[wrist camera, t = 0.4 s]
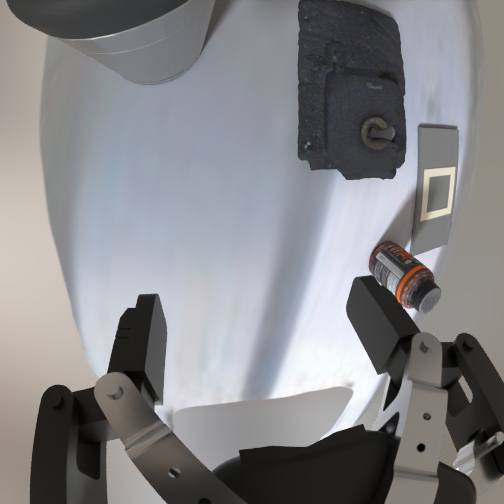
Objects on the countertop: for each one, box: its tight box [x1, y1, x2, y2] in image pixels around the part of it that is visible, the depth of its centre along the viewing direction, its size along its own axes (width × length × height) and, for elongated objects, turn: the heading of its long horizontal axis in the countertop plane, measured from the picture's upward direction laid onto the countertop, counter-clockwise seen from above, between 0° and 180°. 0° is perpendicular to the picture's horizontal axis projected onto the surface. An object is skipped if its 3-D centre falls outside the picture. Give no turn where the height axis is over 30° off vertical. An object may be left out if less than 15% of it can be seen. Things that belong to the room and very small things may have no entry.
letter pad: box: [410, 127, 459, 256], centre depth 34 cm, size 20×10×1 cm, turn 8°
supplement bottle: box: [369, 242, 441, 314], centre depth 33 cm, size 6×6×11 cm
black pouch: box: [298, 0, 406, 180], centre depth 24 cm, size 15×22×5 cm
